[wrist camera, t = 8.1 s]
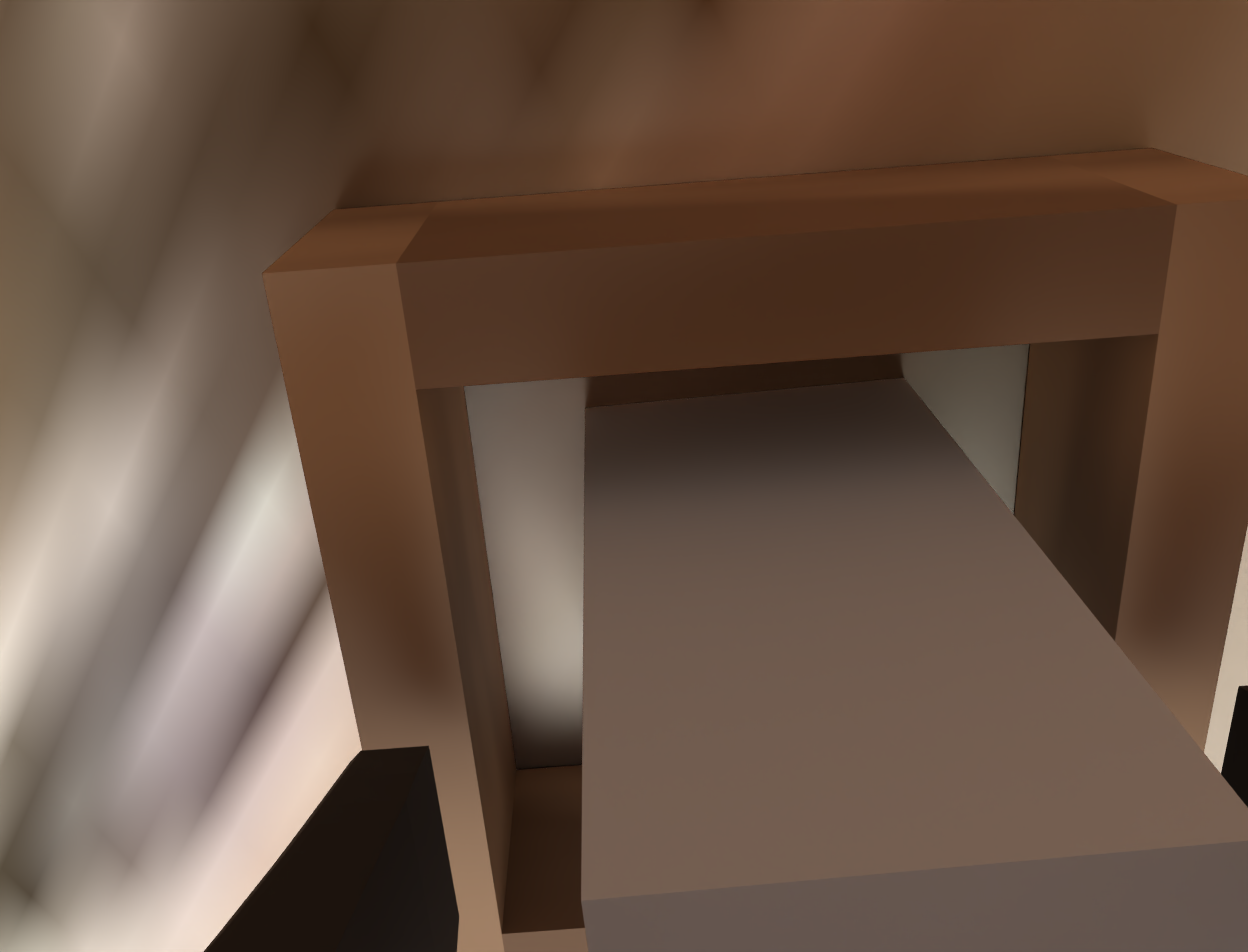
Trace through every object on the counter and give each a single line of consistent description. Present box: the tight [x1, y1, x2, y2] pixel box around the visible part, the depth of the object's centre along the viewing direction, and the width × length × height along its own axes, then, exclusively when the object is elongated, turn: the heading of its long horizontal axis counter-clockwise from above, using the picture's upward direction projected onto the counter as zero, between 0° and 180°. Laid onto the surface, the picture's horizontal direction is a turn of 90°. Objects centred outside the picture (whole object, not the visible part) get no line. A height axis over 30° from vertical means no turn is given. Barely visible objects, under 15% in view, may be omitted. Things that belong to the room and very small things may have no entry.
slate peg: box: [581, 378, 1248, 952], centre depth 11 cm, size 4×4×8 cm
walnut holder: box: [262, 148, 1248, 952], centre depth 13 cm, size 9×9×3 cm
